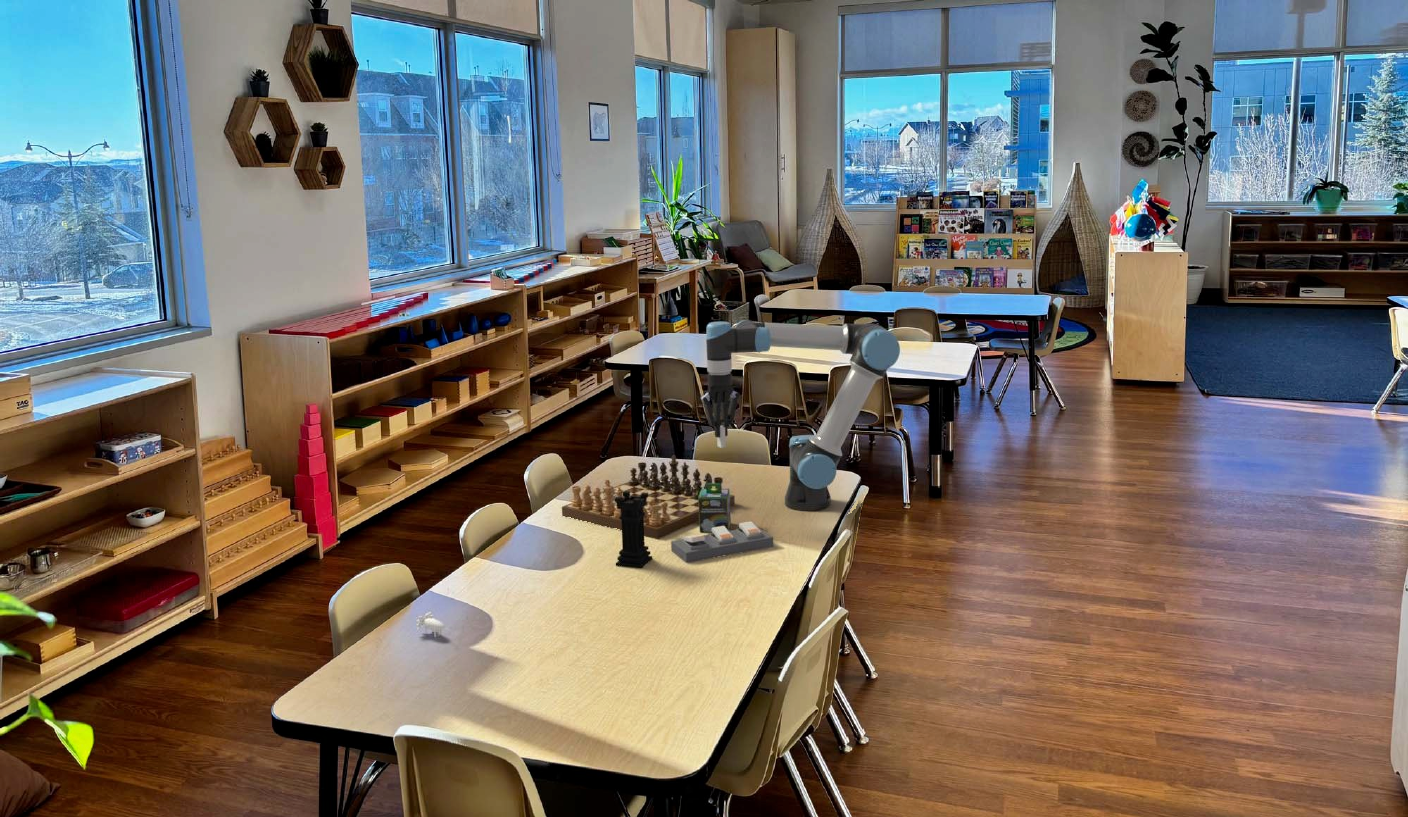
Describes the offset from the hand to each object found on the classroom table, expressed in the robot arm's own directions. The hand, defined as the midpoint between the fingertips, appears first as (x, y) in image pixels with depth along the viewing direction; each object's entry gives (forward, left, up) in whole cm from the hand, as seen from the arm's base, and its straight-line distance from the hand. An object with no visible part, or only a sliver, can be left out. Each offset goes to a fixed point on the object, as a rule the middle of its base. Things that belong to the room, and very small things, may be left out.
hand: (721, 446), depth 346 cm
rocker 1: (+20, +23, -20) cm, 36 cm away
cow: (+99, +45, -25) cm, 111 cm away
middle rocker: (+11, +23, -20) cm, 32 cm away
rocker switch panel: (+11, +23, -24) cm, 35 cm away
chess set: (+17, -21, -25) cm, 37 cm away
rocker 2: (+2, +23, -20) cm, 30 cm away
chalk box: (+5, +5, -25) cm, 25 cm away
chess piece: (+38, +21, -25) cm, 50 cm away
